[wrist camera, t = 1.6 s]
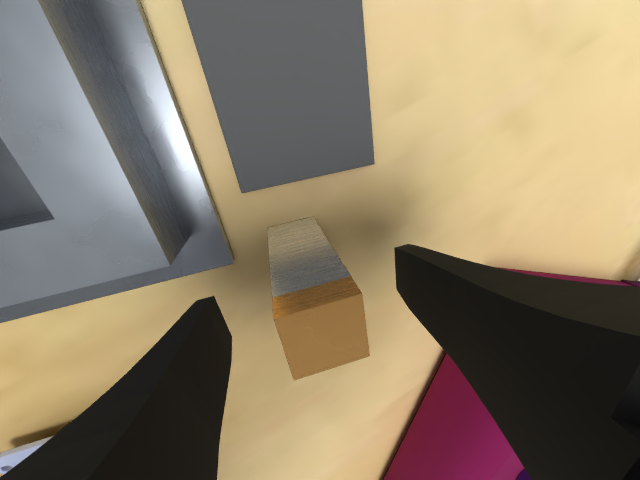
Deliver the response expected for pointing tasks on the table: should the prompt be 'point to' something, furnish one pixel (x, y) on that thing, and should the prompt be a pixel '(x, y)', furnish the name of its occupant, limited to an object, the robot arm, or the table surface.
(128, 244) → the block
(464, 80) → the table surface
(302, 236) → the orange and grey block
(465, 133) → the table surface
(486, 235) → the table surface
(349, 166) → the mat
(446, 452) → the book
